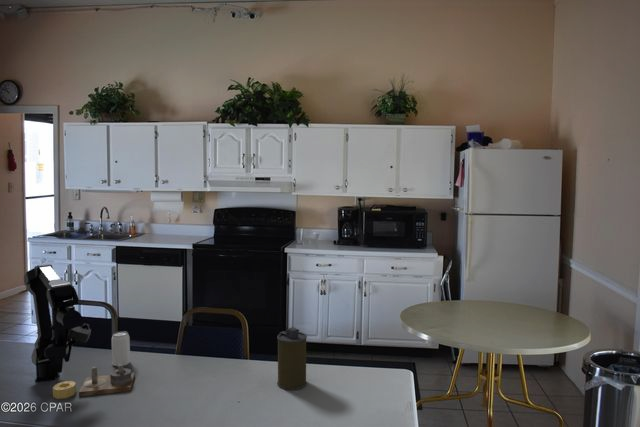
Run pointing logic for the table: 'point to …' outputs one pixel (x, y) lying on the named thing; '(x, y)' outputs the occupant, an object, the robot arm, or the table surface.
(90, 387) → the gear board
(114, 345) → the can
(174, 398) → the table surface
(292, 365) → the canister
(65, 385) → the tan ring
